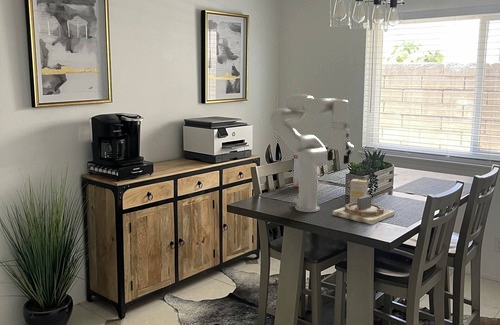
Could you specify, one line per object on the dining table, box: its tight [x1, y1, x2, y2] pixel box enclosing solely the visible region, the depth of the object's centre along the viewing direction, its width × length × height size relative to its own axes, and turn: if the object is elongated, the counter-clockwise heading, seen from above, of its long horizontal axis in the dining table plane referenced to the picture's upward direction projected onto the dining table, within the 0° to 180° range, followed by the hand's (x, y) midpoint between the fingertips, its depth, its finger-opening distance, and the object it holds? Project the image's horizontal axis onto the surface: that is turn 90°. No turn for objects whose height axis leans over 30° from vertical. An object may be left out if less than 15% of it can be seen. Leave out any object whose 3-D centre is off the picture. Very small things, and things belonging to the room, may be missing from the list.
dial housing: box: [332, 202, 396, 225], centre depth 254 cm, size 22×22×4 cm
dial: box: [350, 194, 378, 211], centre depth 254 cm, size 14×14×7 cm
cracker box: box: [292, 152, 318, 188], centre depth 308 cm, size 14×6×21 cm, turn 42°
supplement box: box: [349, 178, 369, 203], centre depth 274 cm, size 8×5×13 cm, turn 56°
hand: (337, 161), depth 242 cm, fingers open, 9 cm apart
